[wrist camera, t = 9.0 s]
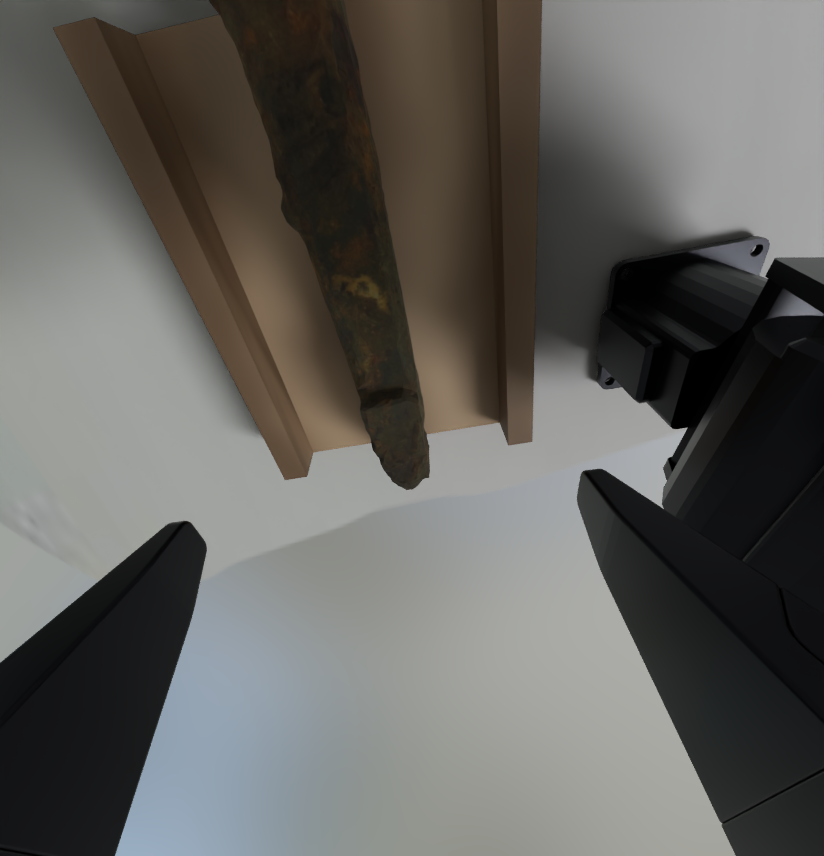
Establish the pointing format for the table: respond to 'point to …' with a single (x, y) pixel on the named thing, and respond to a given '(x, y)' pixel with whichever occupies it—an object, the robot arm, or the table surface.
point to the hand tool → (337, 205)
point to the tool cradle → (403, 194)
